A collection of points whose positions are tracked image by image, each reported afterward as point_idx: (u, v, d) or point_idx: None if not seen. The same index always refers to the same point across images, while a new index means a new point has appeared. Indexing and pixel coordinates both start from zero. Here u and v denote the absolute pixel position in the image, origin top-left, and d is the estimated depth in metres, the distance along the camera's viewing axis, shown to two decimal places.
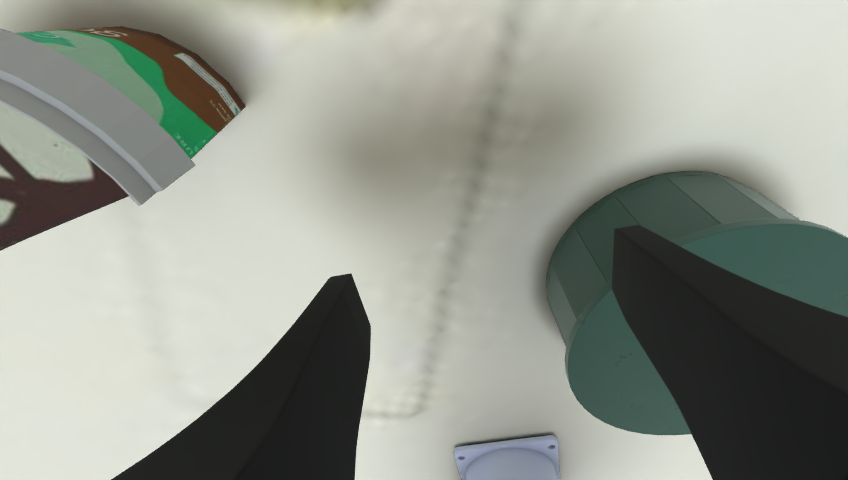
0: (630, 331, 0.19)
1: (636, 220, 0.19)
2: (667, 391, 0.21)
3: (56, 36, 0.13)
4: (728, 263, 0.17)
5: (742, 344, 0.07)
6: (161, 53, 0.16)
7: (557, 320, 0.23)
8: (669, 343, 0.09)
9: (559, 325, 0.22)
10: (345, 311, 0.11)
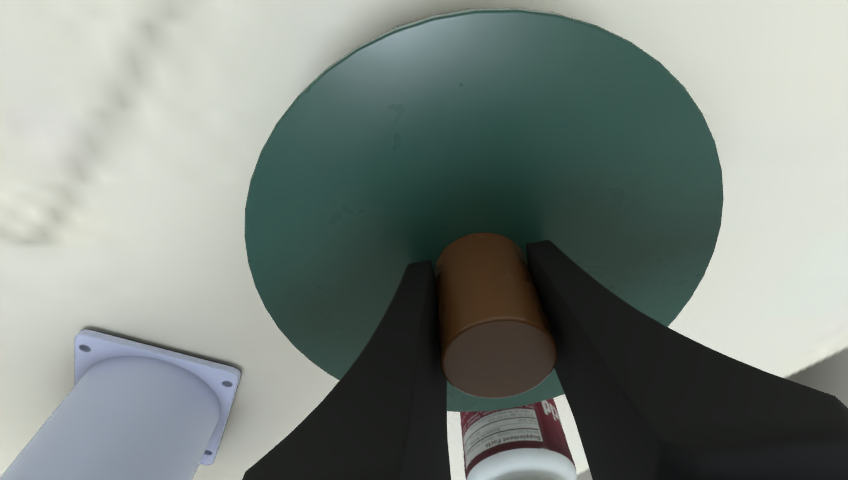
0: (377, 160, 0.10)
1: None
2: None
3: None
4: (569, 105, 0.10)
5: (595, 365, 0.07)
6: None
7: None
8: (563, 358, 0.09)
9: None
10: (432, 297, 0.10)
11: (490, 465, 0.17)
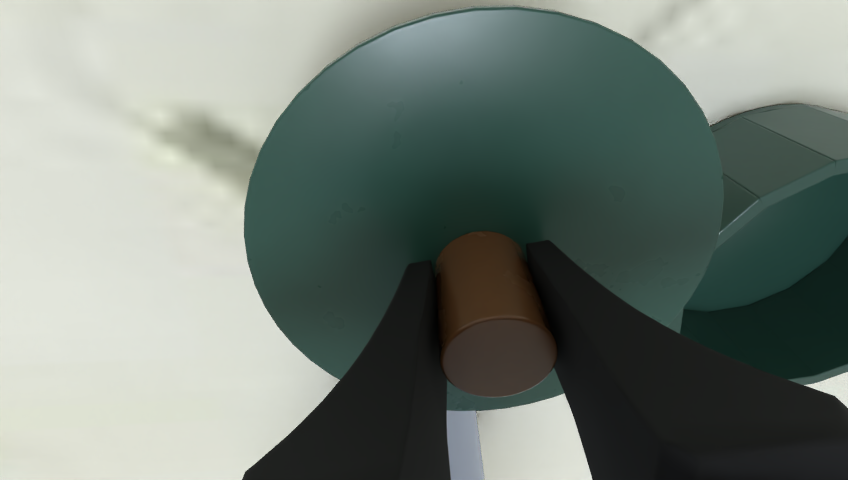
0: (377, 158, 0.10)
1: None
2: None
3: None
4: (570, 102, 0.10)
5: (596, 365, 0.07)
6: None
7: None
8: (564, 358, 0.09)
9: None
10: (432, 297, 0.10)
11: None
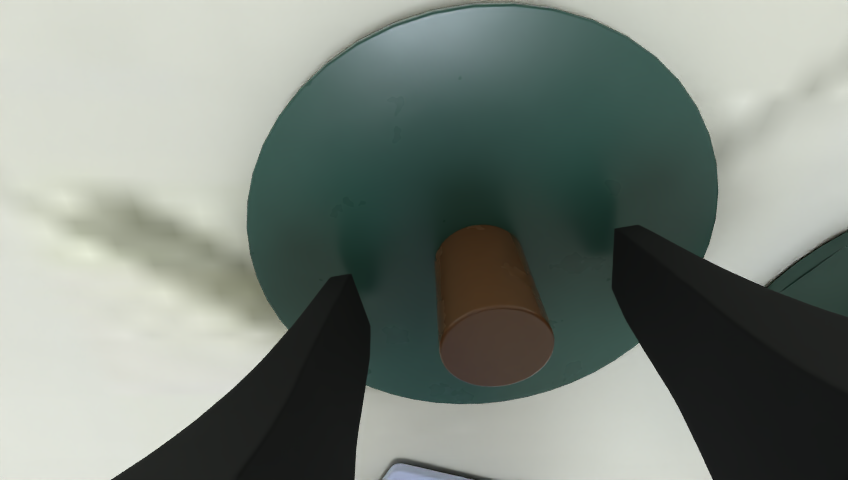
0: (378, 152, 0.11)
1: None
2: (388, 305, 0.13)
3: None
4: (566, 98, 0.10)
5: (742, 344, 0.07)
6: None
7: None
8: (669, 343, 0.09)
9: None
10: (345, 311, 0.11)
11: None
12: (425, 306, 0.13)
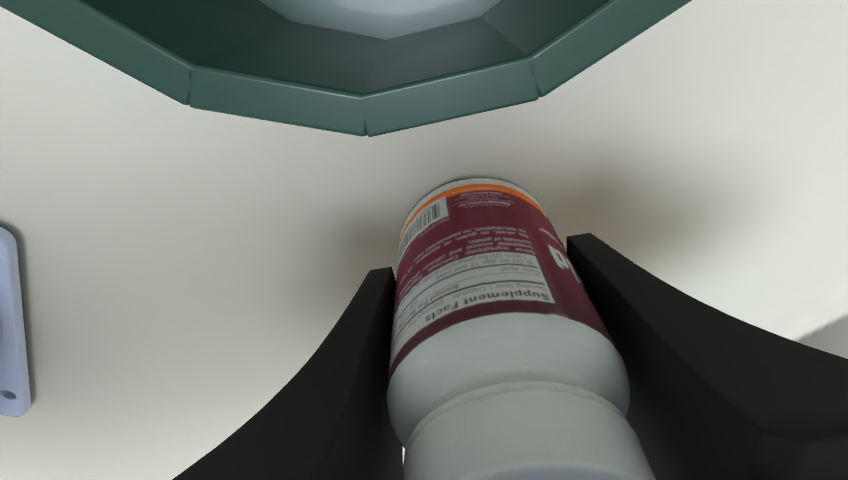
0: None
1: None
2: None
3: None
4: None
5: (662, 356, 0.07)
6: None
7: None
8: None
9: None
10: (389, 304, 0.11)
11: (430, 353, 0.07)
12: None
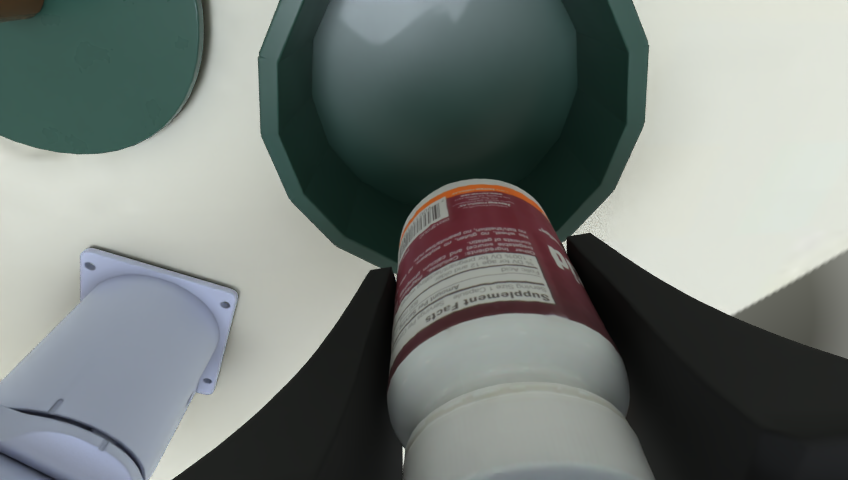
0: None
1: None
2: None
3: None
4: None
5: (662, 356, 0.07)
6: None
7: None
8: None
9: None
10: (389, 304, 0.11)
11: (430, 354, 0.07)
12: None
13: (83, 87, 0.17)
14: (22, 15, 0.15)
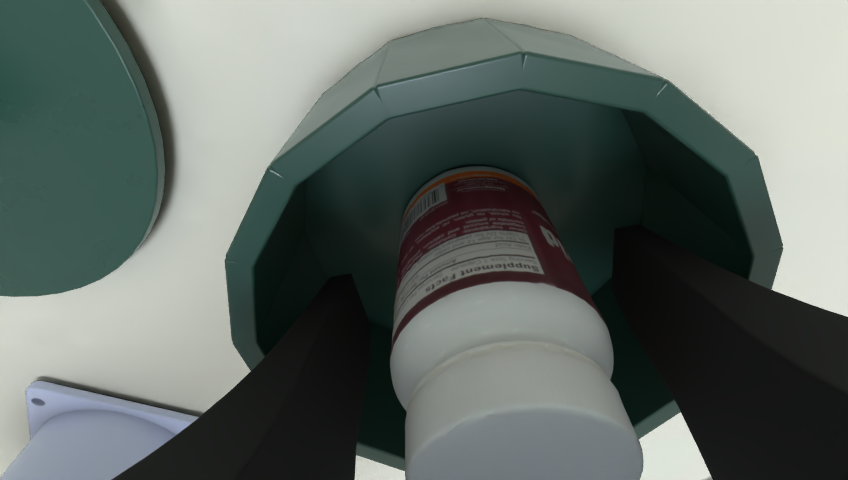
0: None
1: (499, 31, 0.09)
2: None
3: None
4: None
5: (742, 344, 0.07)
6: None
7: None
8: (669, 343, 0.09)
9: None
10: (345, 311, 0.11)
11: (430, 319, 0.08)
12: None
13: (11, 227, 0.13)
14: None
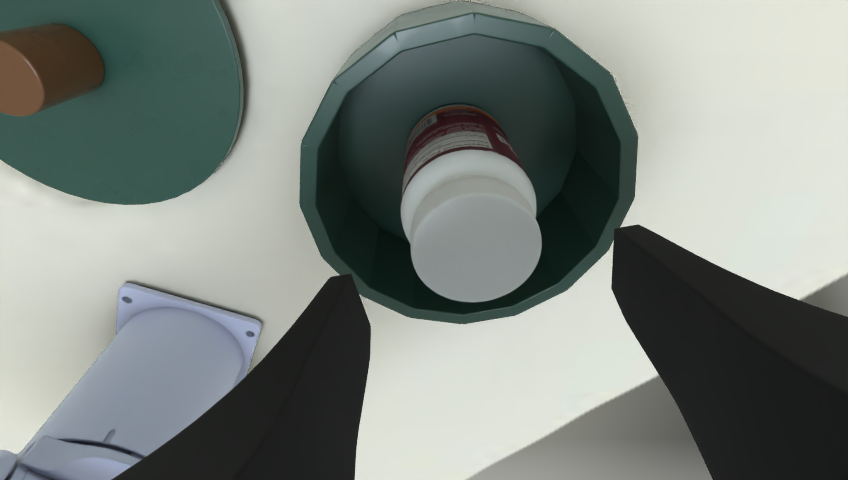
0: None
1: (467, 6, 0.15)
2: None
3: None
4: None
5: (742, 344, 0.07)
6: None
7: None
8: (669, 343, 0.09)
9: None
10: (345, 311, 0.11)
11: (425, 172, 0.14)
12: None
13: (133, 149, 0.19)
14: (85, 92, 0.17)
